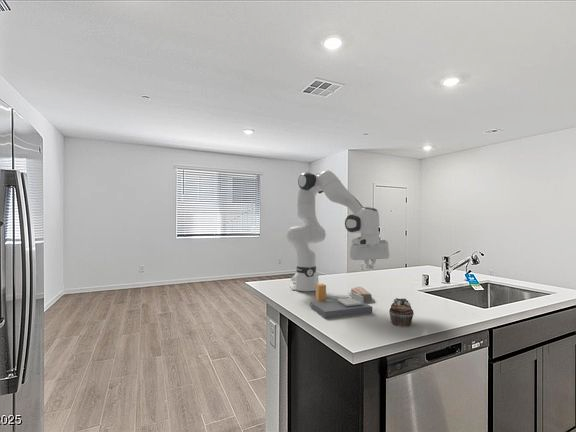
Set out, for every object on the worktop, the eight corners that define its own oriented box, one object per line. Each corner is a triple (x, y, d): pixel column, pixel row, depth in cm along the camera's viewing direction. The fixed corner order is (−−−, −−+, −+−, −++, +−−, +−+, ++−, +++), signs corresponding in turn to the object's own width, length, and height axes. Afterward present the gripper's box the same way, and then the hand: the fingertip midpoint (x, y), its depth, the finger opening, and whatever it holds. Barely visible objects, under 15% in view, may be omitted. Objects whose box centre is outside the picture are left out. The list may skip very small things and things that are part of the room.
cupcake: (385, 319, 130) (385, 296, 130) (407, 319, 130) (407, 296, 130) (394, 327, 120) (394, 302, 120) (418, 327, 121) (418, 302, 121)
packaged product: (375, 293, 157) (356, 294, 156) (375, 303, 157) (356, 303, 156) (364, 285, 175) (348, 286, 174) (365, 294, 175) (348, 294, 174)
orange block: (315, 303, 154) (315, 284, 154) (322, 303, 155) (322, 283, 155) (318, 306, 150) (318, 285, 150) (326, 305, 151) (326, 285, 151)
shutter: (337, 300, 147) (337, 293, 147) (353, 299, 150) (353, 292, 150) (346, 306, 138) (346, 298, 138) (363, 304, 141) (363, 296, 141)
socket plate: (310, 308, 146) (310, 301, 146) (354, 303, 154) (354, 297, 154) (324, 318, 131) (324, 311, 131) (372, 313, 138) (372, 306, 138)
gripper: (384, 239, 154) (384, 266, 153) (348, 240, 147) (348, 268, 147) (392, 240, 148) (392, 268, 147) (355, 241, 141) (355, 270, 141)
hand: (370, 268), depth 147 cm, fingers closed
